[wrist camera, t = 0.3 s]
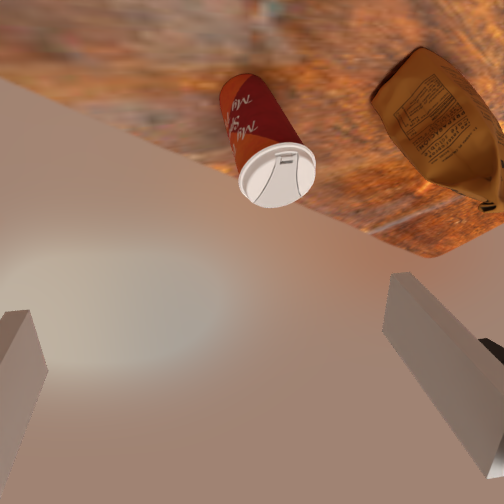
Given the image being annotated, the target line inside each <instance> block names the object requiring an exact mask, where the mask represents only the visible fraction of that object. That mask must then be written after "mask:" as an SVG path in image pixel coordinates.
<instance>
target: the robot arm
mask: <svg viewBox="0 0 504 504" xmlns="http://www.w3.org/2000/svg"><path fill="white" fill-rule="evenodd" d="M382 332H383V333H384V335H385V336H386V338H387V339H388V340H389V342H390V343H391V345H392V346H393V348H394V349H395V350H396V352H397V353H398V355H399V356H400V357H401V359H402V360H403V362H404V363H405V365H406V366H407V367H408V369H409V370H410V371H411V373H412V374H413V376H414V377H415V379H416V380H417V381H418V383H419V384H420V386H421V387H422V388H423V390H424V391H425V392H426V394H427V396H428V397H429V398H430V400H431V401H432V403H433V404H434V406H435V407H436V408H437V410H438V411H439V413H440V414H441V415H442V417H443V418H444V420H445V421H446V422H447V424H448V425H449V427H450V428H451V430H452V431H453V432H454V434H455V435H456V437H457V438H458V439H459V441H460V442H461V444H462V445H463V446H464V448H465V449H466V451H467V452H468V454H469V455H470V456H471V458H472V459H473V461H474V462H475V463H476V465H477V466H478V467H479V469H480V470H481V472H482V473H483V475H484V476H485V478H486V479H490V478H495V477H501V476H504V348H503V347H502V346H500V345H498V344H496V343H495V342H493V341H491V340H489V339H487V338H484V339H477V338H476V337H475V336H474V335H473V334H472V333H471V332H470V331H468V329H467V328H466V327H465V326H464V325H463V324H462V323H461V322H460V321H459V320H458V319H456V317H455V316H454V315H453V314H452V313H451V312H450V311H449V310H448V309H446V308H445V306H444V305H443V304H442V303H441V302H440V301H438V300H437V298H436V297H435V296H434V295H432V294H431V293H430V292H429V290H427V289H426V288H425V287H424V286H423V285H422V284H421V283H420V282H419V281H418V280H417V279H416V278H415V277H414V276H413V275H412V274H411V273H410V272H405V273H394V274H391V278H390V285H389V291H388V298H387V304H386V310H385V317H384V323H383V329H382ZM47 373H48V369H47V365H46V362H45V359H44V356H43V352H42V349H41V346H40V342H39V340H38V336H37V333H36V329H35V326H34V323H33V320H32V316H31V313H30V310H20V311H11V312H5V314H4V315H3V317H2V318H1V320H0V498H1V495H2V492H3V490H4V487H5V484H6V482H7V479H8V476H9V474H10V471H11V468H12V466H13V463H14V461H15V458H16V455H17V452H18V450H19V447H20V444H21V442H22V439H23V437H24V434H25V431H26V429H27V426H28V423H29V421H30V418H31V415H32V413H33V410H34V408H35V405H36V402H37V400H38V397H39V394H40V392H41V389H42V386H43V383H44V381H45V378H46V376H47Z"/></svg>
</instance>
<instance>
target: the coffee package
mask: <svg viewBox="0 0 504 504" xmlns="http://www.w3.org/2000/svg"><path fill="white" fill-rule="evenodd" d="M372 105H373V107H374V108H375V110H376V111H377V112H378V114H379V115H380V117H381V119H382V121H383V123H384V126H385V129H386V131H387V133H388V135H389V137H390V138H391V140H392V141H393V142H394V144H395V145H396V146H397V147H398V148H399V149H400V151H401V152H402V153H403V154H404V155H405V156H406V158H407V159H408V160H409V161H410V162H411V164H412V165H413V166H414V167H415V168H416V169H417V171H418V172H419V173H420V174H421V175H422V176H423V177H424V178H425V179H426V180H427V181H429V182H431V183H434V184H436V185H439V186H442V187H446V188H449V189H451V190H453V191H454V192H456V193H459V194H461V195H464V196H467V197H469V198H472V199H475V200H478V201H482V202H483V203H481V204H480V205H479V206H478V210H479V211H481V212H483V213H499V212H504V134H503V132H502V129H501V127H500V125H499V123H498V121H497V119H496V118H495V116H494V115H493V113H492V112H491V111H490V109H489V108H488V106H487V105H486V103H485V102H484V101H483V99H482V98H481V97H480V95H479V94H478V93H477V92H476V91H475V89H474V88H473V87H472V86H471V85H470V83H469V82H468V81H467V80H466V79H465V78H464V77H463V76H462V75H461V74H460V73H459V72H458V71H457V70H456V69H455V68H454V67H453V66H452V65H451V64H450V63H448V62H447V61H446V60H444V59H443V58H442V57H440V56H438V55H436V54H435V53H433V52H432V51H430V50H427V49H425V48H420V49H418V50H416V51H415V52H414V53H413V54H412V55H411V56H410V58H409V59H408V60H407V61H406V62H405V63H404V64H403V65H402V66H401V67H400V69H399V70H398V71H397V72H396V74H395V75H394V76H393V77H392V78H391V79H390V80H389V81H388V82H386V83H385V84H384V85H383V86H382V87H381V88H380V89H379V91H378V93H377V94H376V96H375V97H374V99H373V100H372Z"/></svg>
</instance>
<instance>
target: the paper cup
mask: <svg viewBox="0 0 504 504" xmlns="http://www.w3.org/2000/svg"><path fill="white" fill-rule="evenodd" d="M219 100H220V107H221V111H222V115H223V119H224V123H225V126H226V130H227V133H228V137H229V141H230V144H231V148H232V151H233V155H234V158H235V162H236V165H237V169H238V173H239V188H240V190H241V192H242V193H243V195H244V196H246V197H247V198H248V199H249V200H250V201H251V202H253V203H254V204H256V205H258V206H261V207H265V208H276V207H281V206H285V205H288V204H290V203H292V202H294V201H296V200H297V199H299V198H301V196H303V195H304V194H305V193H307V191H308V190H309V189H310V188H311V186H312V184H313V182H314V179H315V166H316V161H315V157H314V155H313V153H312V152H311V150H310V149H308V148H307V147H306V146H304V145H303V143H302V141H301V140H300V138H299V137H298V135H297V133H296V132H295V130H294V128H293V127H292V125H291V124H290V122H289V120H288V119H287V117H286V115H285V114H284V112H283V111H282V109H281V107H280V106H279V104H278V103H277V101H276V99H275V98H274V96H273V95H272V93H271V92H270V90H269V89H268V87H267V86H266V84H265V83H264V82H263V80H262V79H261V78H259V77H258V76H256V75H252V74H241V75H238V76H235V77H233V78H232V79H230V80H229V81H228V82H227V83H226V84H225V85H224V87H223V88H222V90H221V93H220V99H219ZM300 194H301V195H300Z"/></svg>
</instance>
